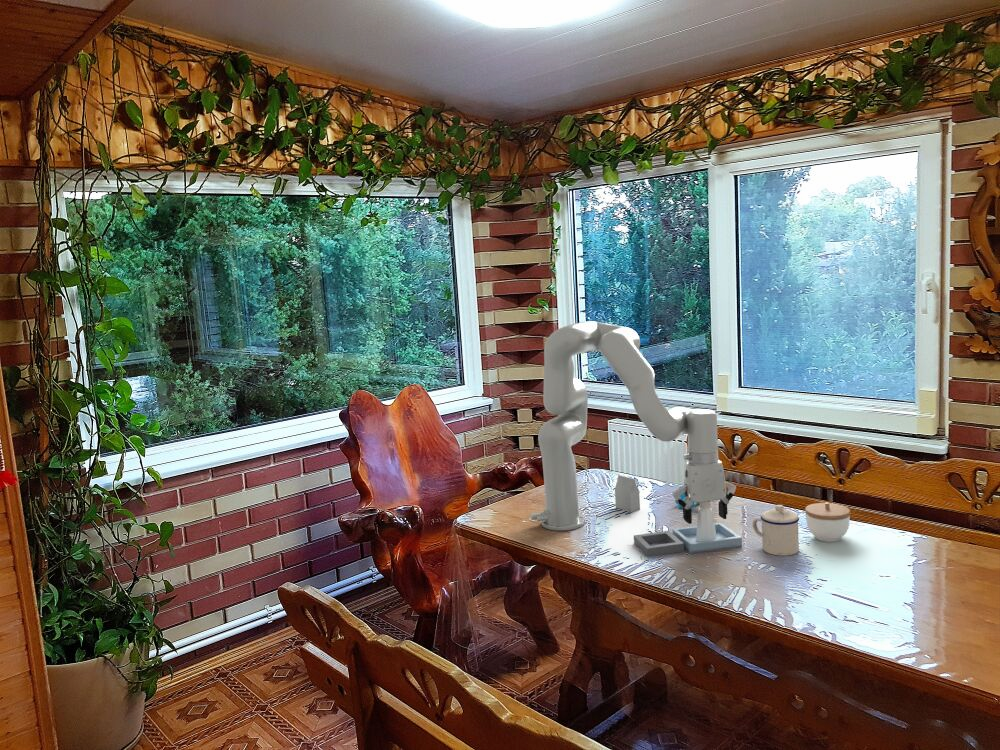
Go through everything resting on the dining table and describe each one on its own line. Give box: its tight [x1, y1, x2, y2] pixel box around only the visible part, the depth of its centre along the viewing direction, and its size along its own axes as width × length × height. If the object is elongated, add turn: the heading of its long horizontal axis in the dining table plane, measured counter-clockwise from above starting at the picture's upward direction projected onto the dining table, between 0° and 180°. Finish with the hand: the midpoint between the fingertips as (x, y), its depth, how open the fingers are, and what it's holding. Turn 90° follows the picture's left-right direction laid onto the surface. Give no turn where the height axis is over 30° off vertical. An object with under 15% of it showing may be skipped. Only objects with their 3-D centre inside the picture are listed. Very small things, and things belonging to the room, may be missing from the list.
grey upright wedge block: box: [614, 474, 641, 513], centre depth 232 cm, size 4×7×10 cm, turn 35°
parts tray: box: [671, 522, 743, 555], centre depth 201 cm, size 14×12×2 cm
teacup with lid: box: [752, 504, 800, 557], centre depth 193 cm, size 12×9×12 cm
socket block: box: [633, 530, 685, 557], centre depth 200 cm, size 10×10×2 cm
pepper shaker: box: [696, 501, 717, 542], centre depth 200 cm, size 5×5×11 cm
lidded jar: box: [804, 502, 851, 543], centre depth 197 cm, size 11×11×9 cm
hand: (705, 519), depth 200 cm, fingers open, 9 cm apart
